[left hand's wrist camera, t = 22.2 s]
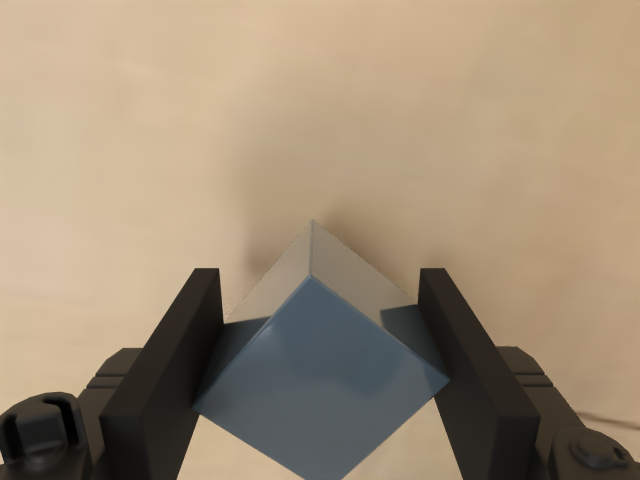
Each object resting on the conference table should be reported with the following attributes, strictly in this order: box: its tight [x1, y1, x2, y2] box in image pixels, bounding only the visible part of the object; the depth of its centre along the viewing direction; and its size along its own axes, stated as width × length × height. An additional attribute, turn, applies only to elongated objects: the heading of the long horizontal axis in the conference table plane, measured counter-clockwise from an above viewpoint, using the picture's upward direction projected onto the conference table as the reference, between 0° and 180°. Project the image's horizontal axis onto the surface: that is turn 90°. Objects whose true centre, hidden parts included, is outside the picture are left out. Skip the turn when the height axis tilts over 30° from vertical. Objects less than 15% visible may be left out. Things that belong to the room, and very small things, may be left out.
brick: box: [191, 220, 450, 480], centre depth 13 cm, size 4×5×4 cm
